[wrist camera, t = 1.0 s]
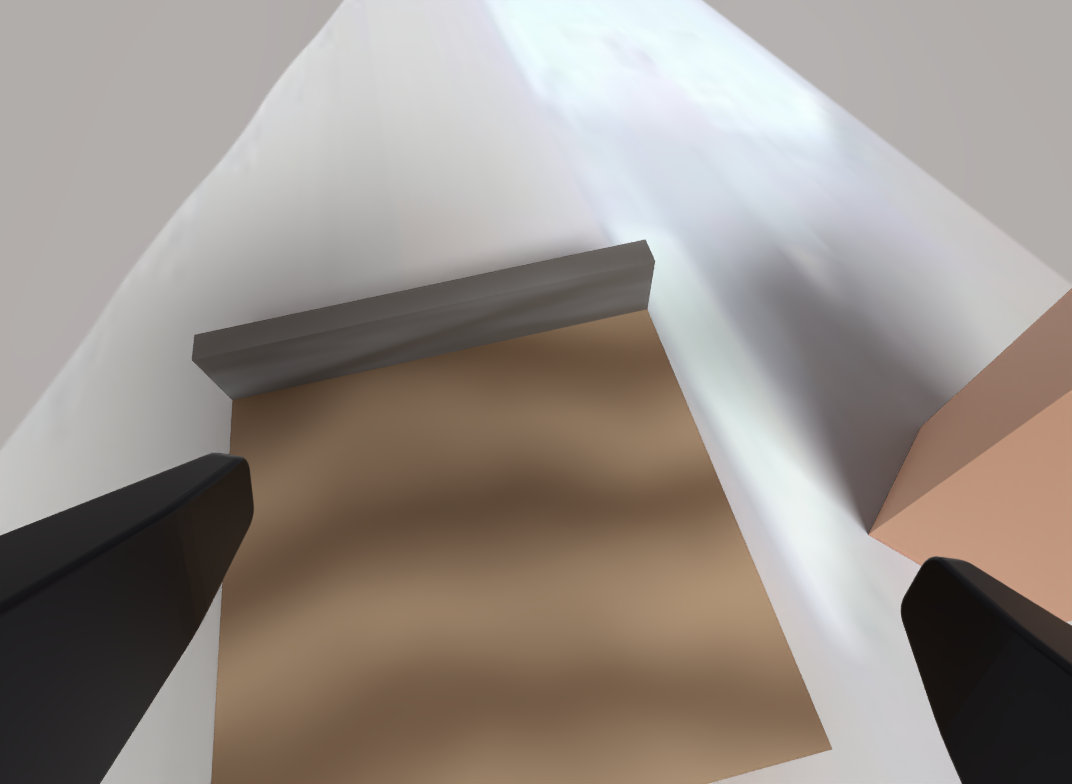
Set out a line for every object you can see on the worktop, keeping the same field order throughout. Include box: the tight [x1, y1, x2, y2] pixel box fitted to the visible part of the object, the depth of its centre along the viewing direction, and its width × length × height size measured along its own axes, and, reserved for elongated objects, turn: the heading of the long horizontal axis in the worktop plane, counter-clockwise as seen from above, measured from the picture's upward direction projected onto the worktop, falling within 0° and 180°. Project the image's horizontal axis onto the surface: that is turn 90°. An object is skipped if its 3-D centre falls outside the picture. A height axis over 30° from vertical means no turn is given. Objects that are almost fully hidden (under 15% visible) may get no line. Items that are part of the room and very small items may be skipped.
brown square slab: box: [192, 240, 832, 784], centre depth 20 cm, size 18×18×4 cm
